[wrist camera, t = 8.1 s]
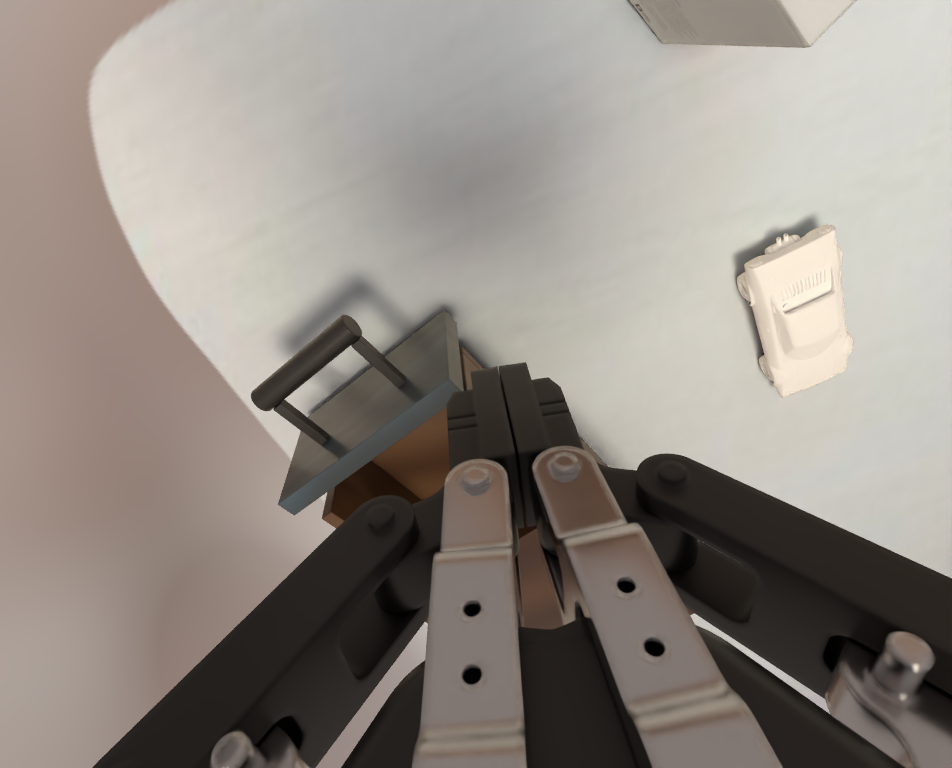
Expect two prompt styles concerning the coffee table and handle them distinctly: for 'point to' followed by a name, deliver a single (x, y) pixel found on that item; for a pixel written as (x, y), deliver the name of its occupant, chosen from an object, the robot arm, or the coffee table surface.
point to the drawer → (371, 418)
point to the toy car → (799, 309)
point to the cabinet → (539, 578)
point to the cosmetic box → (741, 21)
